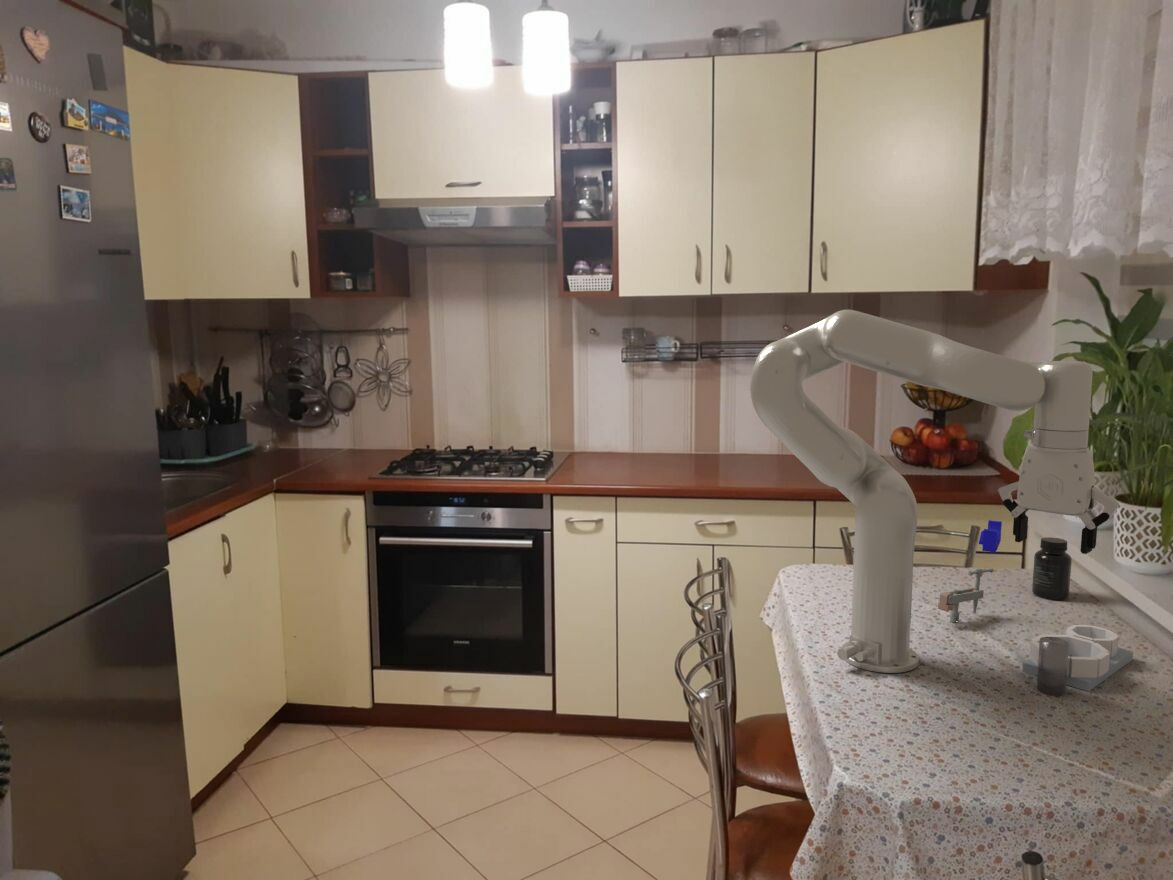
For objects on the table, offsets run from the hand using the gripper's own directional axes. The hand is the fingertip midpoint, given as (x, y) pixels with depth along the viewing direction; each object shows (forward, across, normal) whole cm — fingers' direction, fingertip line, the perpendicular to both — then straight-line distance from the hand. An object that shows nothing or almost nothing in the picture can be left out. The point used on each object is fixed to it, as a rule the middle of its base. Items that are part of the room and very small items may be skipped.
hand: (1052, 546), depth 134 cm
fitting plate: (+22, +2, +8) cm, 23 cm away
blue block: (+22, -39, +73) cm, 85 cm away
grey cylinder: (+22, +3, -5) cm, 22 cm away
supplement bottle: (+22, -14, +44) cm, 51 cm away
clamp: (+22, -20, +17) cm, 34 cm away
